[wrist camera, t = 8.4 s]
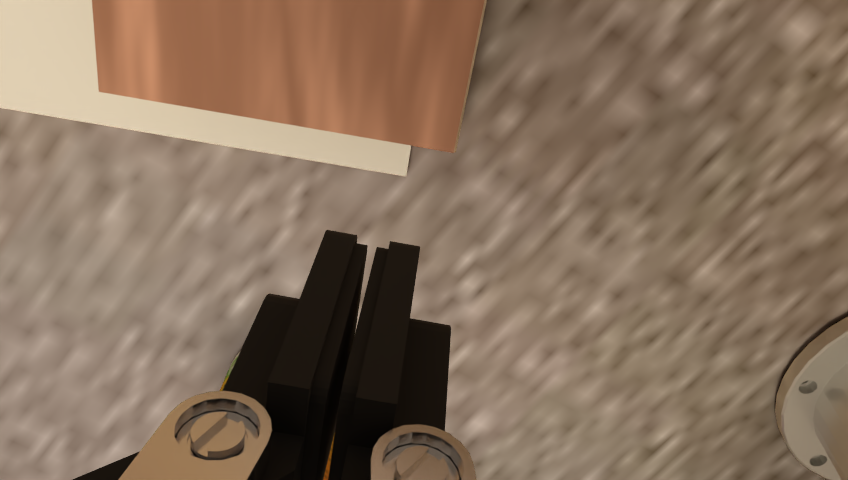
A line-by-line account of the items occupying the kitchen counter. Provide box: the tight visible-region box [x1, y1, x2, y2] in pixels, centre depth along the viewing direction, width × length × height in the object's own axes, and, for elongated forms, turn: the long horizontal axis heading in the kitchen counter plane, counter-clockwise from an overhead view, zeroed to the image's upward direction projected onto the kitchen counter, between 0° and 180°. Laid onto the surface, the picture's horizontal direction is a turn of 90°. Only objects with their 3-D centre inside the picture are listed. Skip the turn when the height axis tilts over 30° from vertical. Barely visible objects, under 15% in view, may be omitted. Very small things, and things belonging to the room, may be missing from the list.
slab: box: [92, 0, 487, 153], centre depth 27 cm, size 2×8×14 cm
